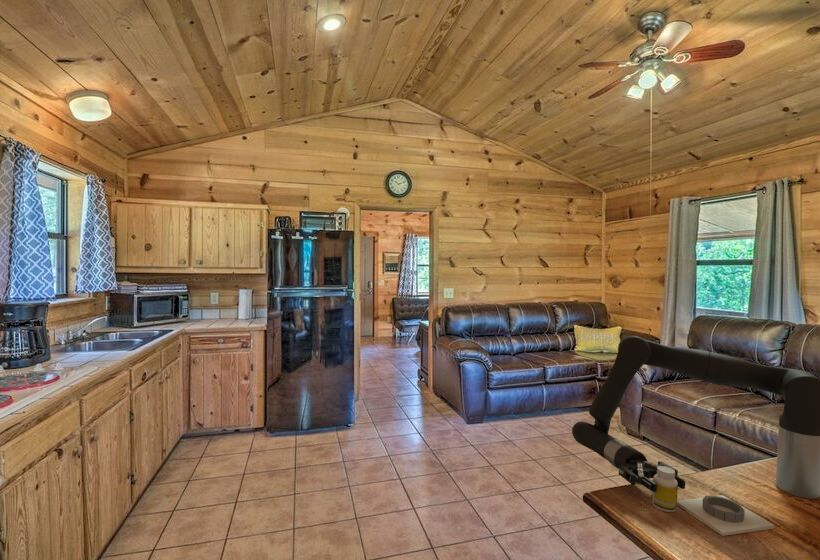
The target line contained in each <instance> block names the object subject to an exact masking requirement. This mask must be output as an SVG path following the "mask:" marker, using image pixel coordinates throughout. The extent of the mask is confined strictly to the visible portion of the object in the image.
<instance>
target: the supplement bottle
mask: <svg viewBox="0 0 820 560" xmlns="http://www.w3.org/2000/svg"><path fill="white" fill-rule="evenodd" d="M672 468H673V467H672ZM672 468H669V467H666V466H658V467H657V474H656V475H654V477H653V478H652V481H653V482H654V483H656V485H657V491H656V492H652V496H651V503H652V505H653V506H654V508H656V509H658V510H659V511H663V512H665V513H666V512H667V513H674V512H676V510H677V507H678V505H677V501H678V491H679V490H678V488H679V487H678V483H677V481H676V479H675V471H674V470H673V469H672Z"/></svg>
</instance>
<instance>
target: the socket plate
mask: <svg viewBox="0 0 820 560" xmlns="http://www.w3.org/2000/svg"><path fill="white" fill-rule="evenodd" d="M677 507H679V508H680V509H682V510H684V511H685V510H686V512H687V513H688V514H690V515H691V516H693V517H695V518H696V519H697V520H698V521H700V522H701V523H703V524H705V525H706V526H707V527H709V528H710V529H712V531H715V533H716V532H717V533H718V534H719V535H721V536H722V537H724V536H730V535H738V534H745V533H753V532H759V531H760V532H761V531H765V530H772V529H773V530H774V529H775V524H773V523H771V522H770V521H768V520H767V519H764V518H763V517H762V516H759V515H758V514H756V513H755V512H752V511H751V510H749V509H747V508H746V507H743V506H742V505H740V504H739V503H737V502H735V501H734V500H732V499H730V498H728V497H727V496H725V495H704V497H698V498H689V499H688V498H687V499H682V500H681V499H680V500H677Z"/></svg>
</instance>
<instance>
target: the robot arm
mask: <svg viewBox="0 0 820 560" xmlns="http://www.w3.org/2000/svg"><path fill="white" fill-rule="evenodd" d="M615 357H616V358H615V361H614V364H613V365H612V368H611V370H610V372H609V374H608V375H607V377H606V379H605V381H604V382H603V383H602V385H601V386H600V388H599V390H598V392H597V393H596V395H595V397H594V399H593V401H592V403H591V405H590V406H589V409H588V413H589V415H590V416H591V417H592V418H593V419H594V423H593V424H592V423H589V422H587V421H582V420H581V421H577V422H575V424H573V426H572V430H571V433H572V437H573V438H574V441H576V442H577V443H578V444H580V445H582V446H584V447H585V448H587V449H589V450H590V451H593V452H595V453H596V454H598V455H599V456H600V457H602V458H603V459H604V460H606V461H608V463H609V464H611V466H613V467H615V469H617V470H618V475H619V476H620V477H622V478H623V479H624V480H625V481H627V482H628V483H629V484H630V485H632V486H633V485H634V486H635V485H636V484H638V486H643V487H645V488H646V489H648V490H649V491H651V492H652V493H653V492H656V491H657V485H656V483H654V482H653V480H652V479H653V477H654V475H656V474H657V467H658V466H666V467H669V468H672V469H673V470H674V471H675V479H676V481H677V483H678V488H679V489H681V490H684V489H686V480H684V479H683V478H681V477H680V476H679V470H677V469H676V468H674V467H672V466H671V465H670V464H669V465H668V464H667V463H665V462H664V461H659V460H658V461H657V464H655V463H653V462H650V461H648V459H647V457H646V456H645V454H644V453H643V452H641V451H639V450H637V449H636V448H634V447H632V446H631V445H629V444H628V443H626V442H624V441H621V440H619V439H618V438H616V437H614V436H612V435H611V434H609V431H610V426H611V421H612V418H613V417H614V415H615V413H616V411H617V409H618V407H619V405H620V403H621V401H622V399H623V397H624V395H625V393H626V391H627V389H628V387H629V384H630V383H631V382H632V379H633V378H634V376H635V375H636V374H637V373H638V371H639V370H640V369H641V368H642V366H643V365H644V366H649V367H658V368H662V369H665V370H667V371H668V370H669V371H671V372H674V373H677V374H679V375H681V376H685V377H688V378H690V379H694V380H696V381H697V380H698V381H701V382H706V383H708V384H709V383H710V384H713V385H717V386H724V387H731V388H732V387H734V388H735V387H736V388H749V389H751V388H752V389H757V390H761V391H764V392H768V393H770V394H771V393H772V394H775V395H778V396H779V397H783V398H784V404H783V411H782V414H781V415H780V416H779V418H778V433H777V435H778V436H777V450H776V451H777V452H776V453H777V454H776V467H775V468H776V470H775V486H776V487H777V488H779V489H780V490H781V491H783V492H785V493H787V494H791V495H792V496H796V497H800V498H804V499H809V500H810V499H811V500H814V499H815V500H816V499H819V498H820V378H819V376H816V375H815V374H813V373H811V372H809V371H805V370H802V369H796V368H787V367H779V366H771V365H764V364H760V363H756V362H752V361H749V360H746V359H743V358H739V357H735V356H730V355H726V354H722V353H718V352H713V351H707V350H703V349H697V348H691V347H690V348H689V347H677V346H672V345H671V346H669V345H666V344H662V343H657V342H655V341H652V340H648V339H645V338H642V337H640V336H637V335H627V336H626V337H623V338H622V339H621V340H620V341H619V343H618V346H617V354H616V356H615Z"/></svg>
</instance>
